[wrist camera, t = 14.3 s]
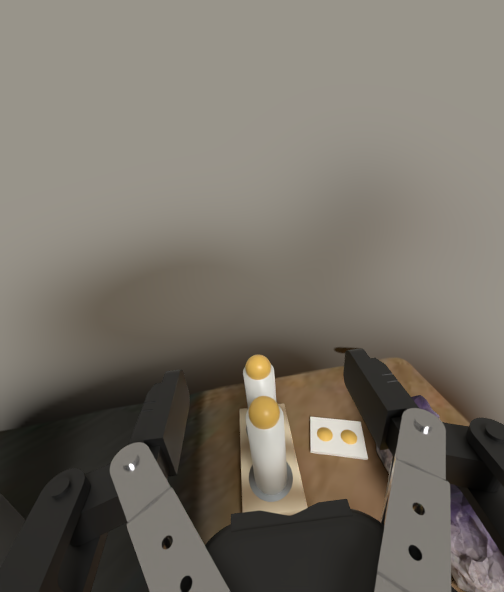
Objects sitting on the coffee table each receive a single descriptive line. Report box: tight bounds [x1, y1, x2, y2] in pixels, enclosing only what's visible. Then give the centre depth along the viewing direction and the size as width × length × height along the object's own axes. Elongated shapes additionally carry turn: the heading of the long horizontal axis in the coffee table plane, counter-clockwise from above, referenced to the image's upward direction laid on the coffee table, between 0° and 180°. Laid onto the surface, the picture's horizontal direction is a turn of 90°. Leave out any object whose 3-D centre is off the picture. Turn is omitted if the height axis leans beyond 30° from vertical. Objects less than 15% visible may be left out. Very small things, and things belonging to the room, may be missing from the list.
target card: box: [310, 417, 368, 460], centre depth 41 cm, size 8×6×1 cm
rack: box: [239, 404, 307, 515], centre depth 39 cm, size 16×8×1 cm, turn 4°
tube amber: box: [246, 396, 287, 495], centre depth 32 cm, size 4×4×14 cm
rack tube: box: [243, 355, 276, 409], centre depth 39 cm, size 4×4×14 cm
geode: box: [376, 395, 504, 592], centre depth 32 cm, size 20×12×10 cm, turn 13°
